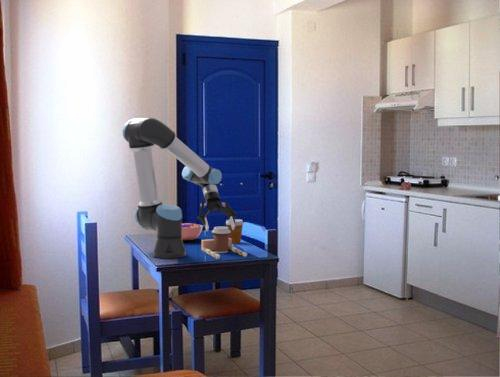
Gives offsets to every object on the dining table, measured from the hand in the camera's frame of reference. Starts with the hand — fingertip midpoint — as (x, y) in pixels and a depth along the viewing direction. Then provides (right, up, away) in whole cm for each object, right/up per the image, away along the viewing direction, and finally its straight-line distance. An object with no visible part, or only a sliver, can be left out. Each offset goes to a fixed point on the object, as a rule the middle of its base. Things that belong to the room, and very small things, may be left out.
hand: (220, 229), depth 290 cm
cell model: (-21, -8, +28) cm, 36 cm away
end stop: (-2, -10, +3) cm, 11 cm away
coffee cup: (0, -11, -3) cm, 11 cm away
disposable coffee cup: (+6, -9, +21) cm, 24 cm away
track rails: (+2, -11, -8) cm, 14 cm away
